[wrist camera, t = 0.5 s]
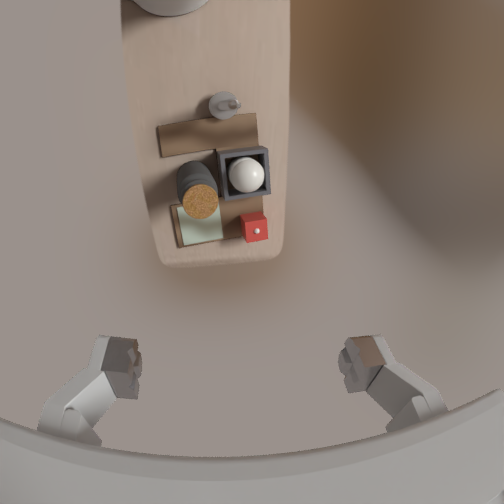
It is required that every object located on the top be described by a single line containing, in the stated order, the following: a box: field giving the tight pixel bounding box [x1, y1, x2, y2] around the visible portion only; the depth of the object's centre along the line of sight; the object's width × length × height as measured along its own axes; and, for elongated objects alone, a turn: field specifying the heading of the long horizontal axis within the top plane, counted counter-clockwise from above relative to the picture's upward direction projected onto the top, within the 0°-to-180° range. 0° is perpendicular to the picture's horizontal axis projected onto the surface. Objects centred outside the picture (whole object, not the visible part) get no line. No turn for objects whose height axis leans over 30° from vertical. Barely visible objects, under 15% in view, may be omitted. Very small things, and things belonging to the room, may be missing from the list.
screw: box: [209, 92, 241, 120], centre depth 40 cm, size 13×5×5 cm
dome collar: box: [217, 146, 271, 201], centre depth 50 cm, size 8×8×4 cm
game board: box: [158, 113, 263, 248], centre depth 51 cm, size 23×17×1 cm
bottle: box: [177, 161, 218, 219], centre depth 44 cm, size 6×6×15 cm
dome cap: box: [227, 156, 264, 193], centre depth 48 cm, size 6×6×6 cm
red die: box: [240, 211, 268, 243], centre depth 55 cm, size 4×4×4 cm
